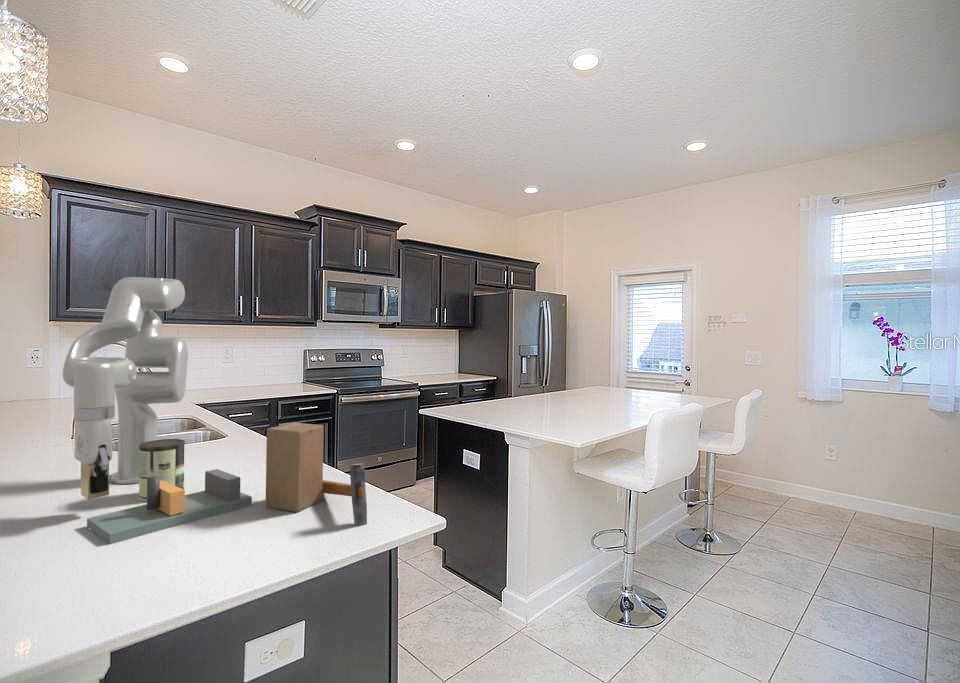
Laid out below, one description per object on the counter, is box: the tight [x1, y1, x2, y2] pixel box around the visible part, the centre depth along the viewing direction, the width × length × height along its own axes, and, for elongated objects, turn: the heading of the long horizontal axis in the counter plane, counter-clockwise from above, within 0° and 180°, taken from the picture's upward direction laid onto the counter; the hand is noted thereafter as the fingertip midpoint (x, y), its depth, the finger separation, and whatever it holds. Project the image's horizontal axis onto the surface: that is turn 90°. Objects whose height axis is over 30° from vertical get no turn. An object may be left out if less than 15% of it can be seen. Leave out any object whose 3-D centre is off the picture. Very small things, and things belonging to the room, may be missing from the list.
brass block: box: [80, 460, 110, 501], centre depth 114 cm, size 5×4×8 cm
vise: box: [86, 468, 253, 545], centre depth 115 cm, size 14×30×7 cm, turn 145°
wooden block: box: [265, 422, 325, 513], centre depth 124 cm, size 10×10×20 cm
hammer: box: [322, 463, 368, 527], centre depth 123 cm, size 14×2×30 cm
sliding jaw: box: [146, 476, 186, 515], centre depth 112 cm, size 12×5×8 cm, turn 55°
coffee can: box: [138, 438, 186, 502], centre depth 128 cm, size 10×10×14 cm
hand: (95, 488), depth 114 cm, fingers closed on brass block, 5 cm apart
